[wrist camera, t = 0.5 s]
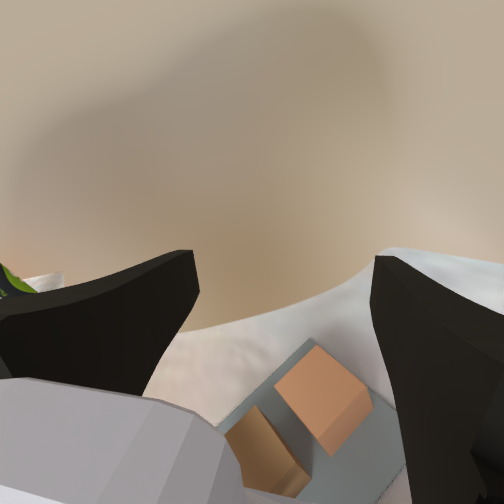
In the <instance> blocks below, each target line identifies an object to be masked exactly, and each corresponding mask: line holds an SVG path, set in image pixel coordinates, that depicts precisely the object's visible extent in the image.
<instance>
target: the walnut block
mask: <svg viewBox="0 0 504 504" xmlns="http://www.w3.org/2000/svg"><path fill="white" fill-rule="evenodd" d="M224 436H225V438H226V440H227V442H228V444H229V446H230V447H231V449H232V451H233V453H234V455H235V457H236V459H237V460H238V462H239V464H240V468H241V475H242V481H243V487H246V488H251V489H255V490H259V491H264V492H268V493H272V494H277V495H281V496H285V497H290V498H294V499H295V498H296V497H297V496H298V494H299V493H300V492H301V491H302V490H303V489H304V488H305V486H306V485H307V484H308V483H309V482H310V481H311V480H312V478H311V477H310V476H309V474H308V473H307V471H306V470H305V469H304V467H303V466H302V464H301V463H300V462H299V460H298V459H297V457H296V456H295V455H294V453H293V452H292V450H291V449H290V448H289V446H288V445H287V443H286V442H285V441H284V439H283V438H282V436H281V435H280V433H279V432H278V431H277V429H276V428H275V426H274V425H273V424H272V423H271V421H270V420H269V419H268V418H267V417H266V416H265V415H264V414H263V413H262V412H261V411H260V409H259V408H258V407H257V406H256V405H254V406H253V407H252V408H251V409H250V410H249V411H248V412H247V413H246V414H245V415H244V416H243V417H242V418H241V419H240V420H239V421H238V422H237V423H236V424H235V425H234V426H233V427H232V428H231V429H230V430H228V431H227V432H226V433H225V434H224Z"/></svg>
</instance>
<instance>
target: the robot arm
mask: <svg viewBox="0 0 504 504" xmlns="http://www.w3.org/2000/svg"><path fill="white" fill-rule="evenodd" d="M199 292H200V289H199V283H198V277H197V271H196V266H195V261H194V254H193V250H176V251H172V252H169V253H166V254H164V255H161V256H159V257H156V258H153V259H151V260H148V261H146V262H143V263H141V264H138V265H136V266H133V267H130V268H128V269H125V270H122V271H120V272H117V273H114V274H112V275H108V276H105V277H102V278H99V279H96V280H92V281H89V282H85V283H81V284H78V285H74V286H69V287H64V288H60V289H56V290H51V291H46V292H41V293H35V294H29V295H23V296H17V297H9V298H2V299H0V504H316V503H311V502H307V501H303V500H298V499H294V498H290V497H285V496H281V495H277V494H272V493H268V492H264V491H259V490H255V489H251V488H246V487H243V481H242V475H241V468H240V464H239V462H238V460H237V459H236V457H235V455H234V453H233V451H232V449H231V447H230V446H229V444H228V442H227V440H226V438H225V436H224V434H223V433H222V432H221V431H220V430H218V429H217V428H216V427H214V426H213V425H212V424H211V423H209V422H208V421H207V420H205V419H204V418H203V417H201V416H200V415H199V414H197V413H196V412H195V411H192V410H189V409H186V408H183V407H180V406H178V405H175V404H172V403H169V402H166V401H163V400H160V399H154V398H148V397H142V395H143V392H144V390H145V388H146V386H147V384H148V382H149V380H150V378H151V376H152V374H153V372H154V370H155V368H156V366H157V364H158V362H159V360H160V359H161V357H162V355H163V354H164V352H165V350H166V349H167V347H168V346H169V344H170V343H171V341H172V340H173V338H174V337H175V335H176V334H177V332H178V330H179V329H180V328H181V326H182V324H183V323H184V321H185V320H186V318H187V317H188V315H189V313H190V312H191V310H192V308H193V306H194V304H195V302H196V299H197V297H198V295H199ZM370 309H371V316H372V322H373V327H374V330H375V334H376V337H377V340H378V343H379V347H380V350H381V353H382V356H383V359H384V363H385V366H386V369H387V372H388V375H389V379H390V382H391V386H392V390H393V395H394V400H395V405H396V410H397V415H398V420H399V426H400V431H401V437H402V443H403V448H404V454H405V460H406V466H407V473H408V479H409V485H410V491H411V498H412V504H504V315H502V314H500V313H497V312H495V311H493V310H490V309H488V308H486V307H484V306H482V305H479V304H477V303H475V302H473V301H471V300H469V299H467V298H465V297H463V296H461V295H459V294H457V293H455V292H453V291H452V290H450V289H448V288H446V287H444V286H442V285H441V284H439V283H437V282H436V281H434V280H432V279H431V278H429V277H427V276H426V275H424V274H423V273H421V272H419V271H418V270H416V269H415V268H413V267H412V266H410V265H408V264H407V263H405V262H404V261H402V260H400V259H399V258H397V257H395V256H375V263H374V271H373V279H372V287H371V295H370Z"/></svg>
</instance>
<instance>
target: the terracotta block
mask: <svg viewBox="0 0 504 504" xmlns="http://www.w3.org/2000/svg"><path fill="white" fill-rule="evenodd" d="M274 387H275V389H276V390H277V391H278V393H279V394H280V395H281V397H282V398H283V399H284V401H285V402H286V403H287V404H288V406H289V407H290V408H291V410H292V411H293V412H294V413H295V414H296V416H297V417H298V418H299V419H300V421H301V422H302V423H303V424H304V425H305V427H306V428H307V429H308V430H309V432H310V433H311V434H312V435H313V436H314V438H315V439H316V440H317V441H318V443H319V444H320V445H321V446H322V448H323V449H324V450H325V451H326V452H327V454H328V455H329V456H330V457H332V456H333V454H334V453H335V452H336V451H337V450H338V449H339V448H340V446H341V445H342V444H343V443H344V442H345V441H346V440H347V438H348V437H349V436H350V435H351V434H352V433H353V432H354V430H355V429H356V428H357V427H358V426H359V425H360V424H361V422H362V421H363V420H364V419H365V418H366V417H367V416H368V414H369V413H370V412H371V411H372V410H373V409H374V408H373V405H372V402H371V399H370V396H369V393H368V390H367V387H366V385H365V384H364V383H362V382H361V381H360V380H359V379H358V378H356V377H355V376H354V375H353V374H352V373H350V372H349V371H348V370H347V369H346V368H345V367H343V366H342V365H341V364H340V363H339V362H337V361H336V360H335V359H334V358H333V357H331V356H330V355H329V354H328V353H327V352H325V351H324V350H323V349H322V348H321V347H320V346H318V345H316V346H315V347H314V348H313V349H311V350H310V351H309V352H308V353H307V354H306V355H305V356H304V357H303V358H302V359H301V360H300V361H299V362H298V363H297V364H296V365H295V366H294V367H293V368H292V369H291V370H290V371H289V372H288V373H287V374H286V375H285V376H284V377H283V378H282V379H281V380H280V381H279V382H278V383H277V384H276V385H275V386H274Z"/></svg>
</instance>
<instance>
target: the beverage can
mask: <svg viewBox="0 0 504 504" xmlns="http://www.w3.org/2000/svg"><path fill="white" fill-rule="evenodd" d="M35 293H38V292H37V291H35V290H34V289H33V288H32V287H30V286H29V285H28V284H26V283H25V282H24V281H23V280H21V279H20V278H19V277H18V276H16V275H15V274H14V273H12V272H11V271H10V270H8V269H7V268H6V267H5V266H3V265H2V264H1V263H0V299H2V298H9V297H17V296H23V295H29V294H35Z"/></svg>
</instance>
